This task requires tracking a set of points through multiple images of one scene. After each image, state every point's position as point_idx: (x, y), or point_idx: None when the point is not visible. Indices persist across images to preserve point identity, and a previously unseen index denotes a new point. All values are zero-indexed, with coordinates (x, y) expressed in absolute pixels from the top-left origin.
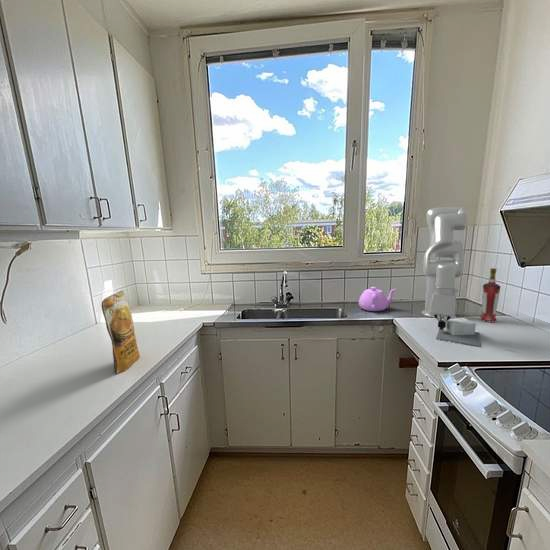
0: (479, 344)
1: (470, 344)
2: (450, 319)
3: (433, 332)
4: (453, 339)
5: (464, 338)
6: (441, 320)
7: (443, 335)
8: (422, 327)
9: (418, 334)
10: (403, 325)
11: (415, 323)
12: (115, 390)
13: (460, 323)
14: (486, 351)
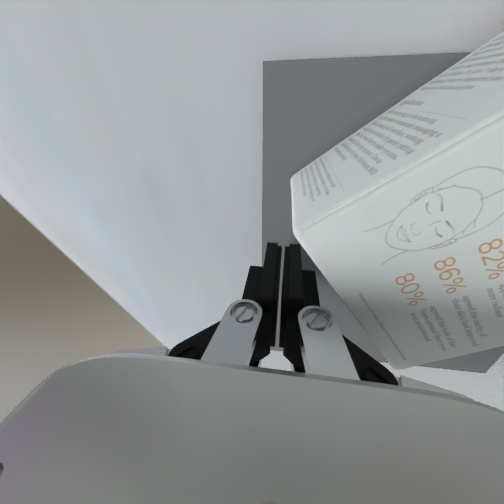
0: (495, 360)
1: (435, 365)
2: (402, 234)
3: (231, 246)
4: (353, 339)
5: None
6: (271, 324)
7: None
8: (127, 163)
9: (169, 311)
10: (8, 190)
11: (13, 51)
12: None
13: (495, 341)
14: (487, 393)
